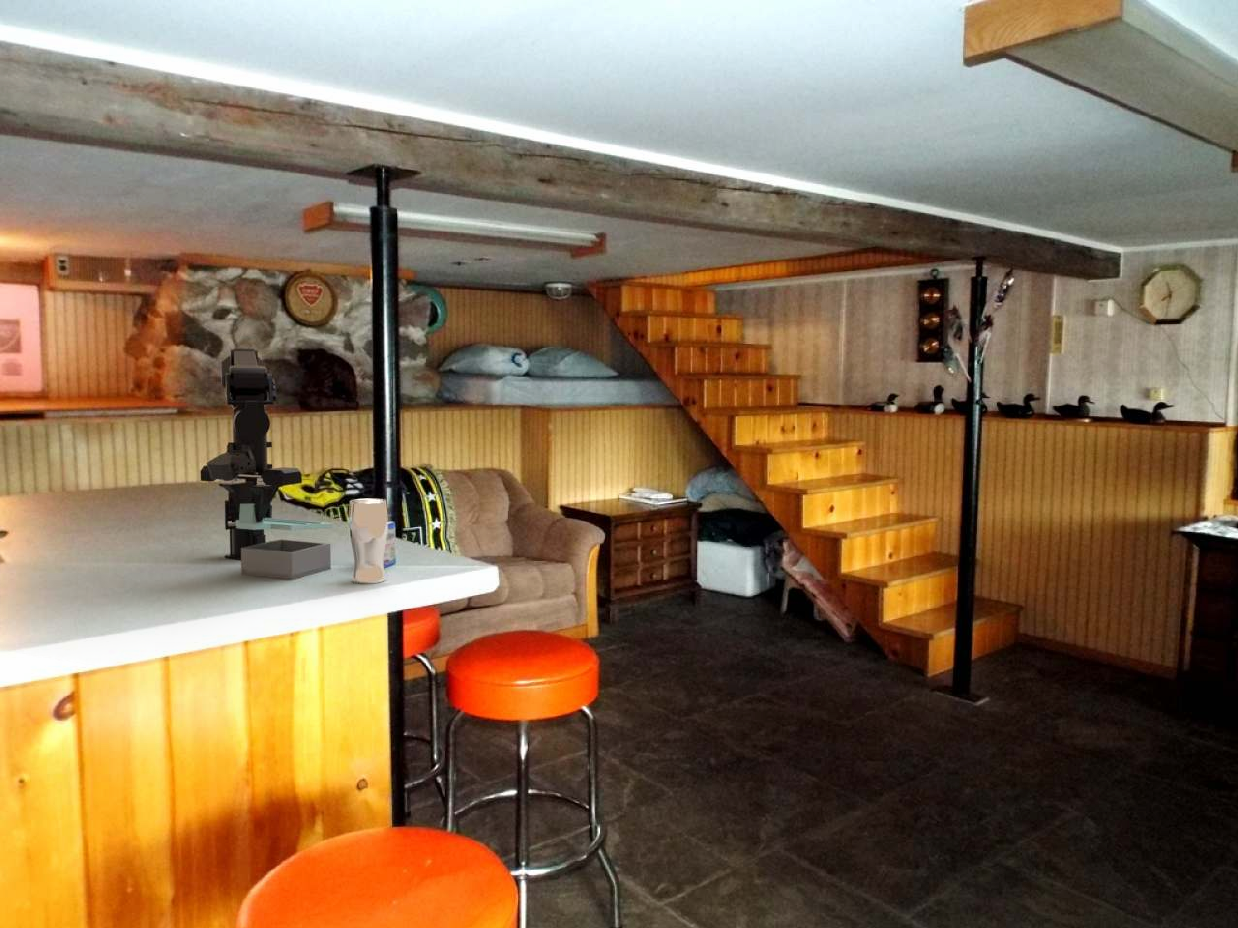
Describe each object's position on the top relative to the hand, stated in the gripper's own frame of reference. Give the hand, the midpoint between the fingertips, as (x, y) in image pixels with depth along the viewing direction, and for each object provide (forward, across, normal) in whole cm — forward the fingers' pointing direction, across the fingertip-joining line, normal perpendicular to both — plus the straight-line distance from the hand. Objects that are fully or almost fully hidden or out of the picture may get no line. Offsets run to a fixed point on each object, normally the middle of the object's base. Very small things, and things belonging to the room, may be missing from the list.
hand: (251, 521), depth 169 cm
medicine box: (+11, +13, +20) cm, 26 cm away
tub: (+11, 0, +9) cm, 14 cm away
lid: (+2, 0, +6) cm, 7 cm away
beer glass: (+11, +19, +9) cm, 24 cm away
